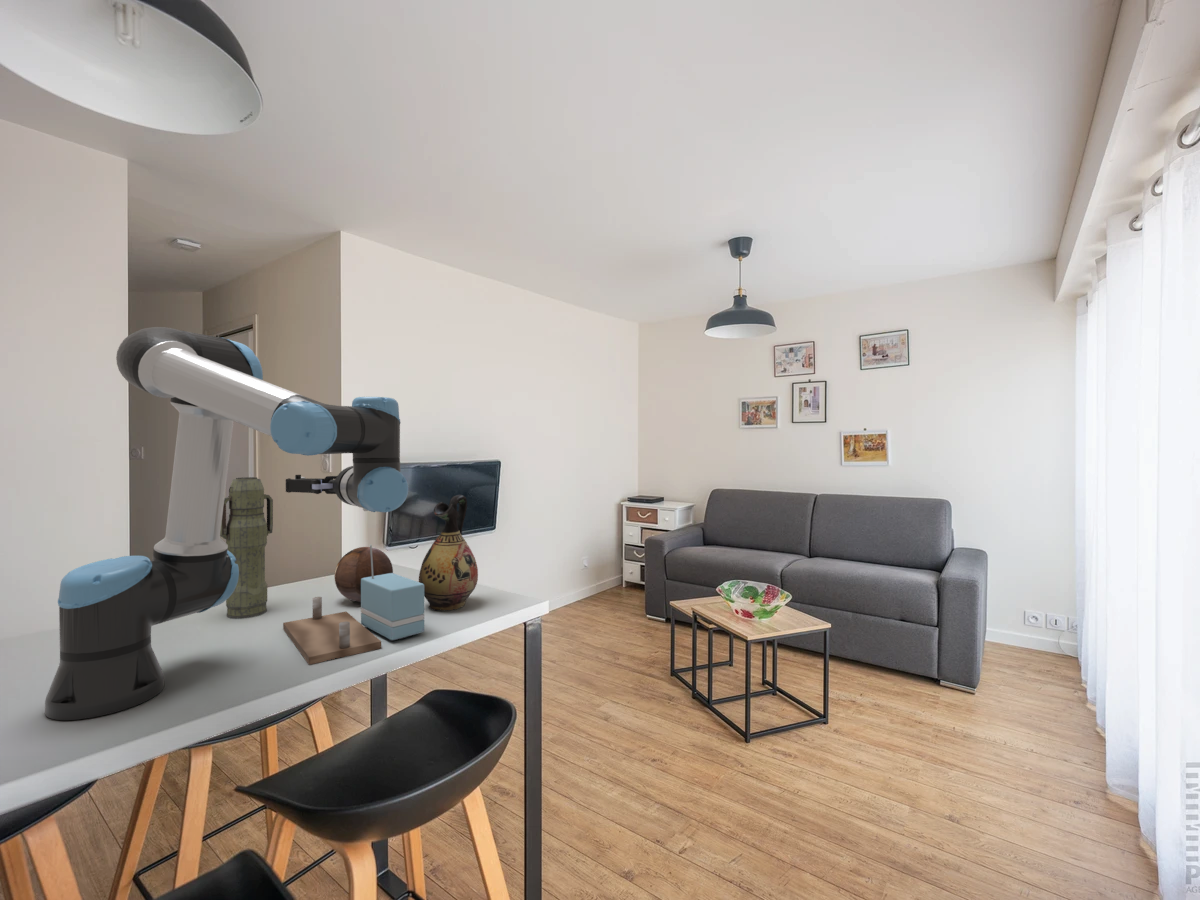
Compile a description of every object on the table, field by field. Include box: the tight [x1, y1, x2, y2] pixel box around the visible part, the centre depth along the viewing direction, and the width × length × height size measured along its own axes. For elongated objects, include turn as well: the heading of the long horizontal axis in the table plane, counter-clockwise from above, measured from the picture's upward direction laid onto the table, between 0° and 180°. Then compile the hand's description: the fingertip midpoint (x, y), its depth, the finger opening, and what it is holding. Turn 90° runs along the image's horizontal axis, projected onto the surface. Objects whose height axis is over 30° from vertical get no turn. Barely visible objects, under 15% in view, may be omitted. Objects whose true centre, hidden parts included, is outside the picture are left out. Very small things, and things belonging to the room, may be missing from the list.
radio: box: [360, 543, 425, 642], centre depth 129 cm, size 16×9×20 cm, turn 47°
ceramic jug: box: [418, 494, 479, 612], centre depth 149 cm, size 17×15×30 cm
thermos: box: [220, 476, 274, 620], centre depth 141 cm, size 9×12×35 cm
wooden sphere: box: [334, 546, 394, 603], centre depth 153 cm, size 15×15×15 cm
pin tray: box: [282, 596, 382, 666], centre depth 124 cm, size 14×27×6 cm, turn 39°
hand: (332, 481), depth 118 cm, fingers open, 13 cm apart
